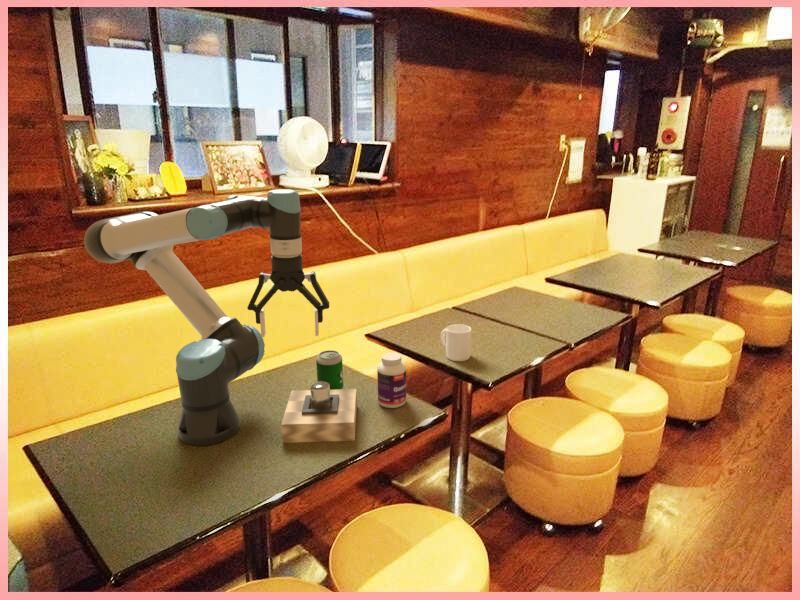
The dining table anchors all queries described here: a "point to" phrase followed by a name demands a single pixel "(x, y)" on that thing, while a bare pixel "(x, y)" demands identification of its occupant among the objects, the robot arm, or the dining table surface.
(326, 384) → the peg
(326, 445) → the dining table surface
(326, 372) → the soda can
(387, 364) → the pill bottle
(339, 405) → the block
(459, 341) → the mug
